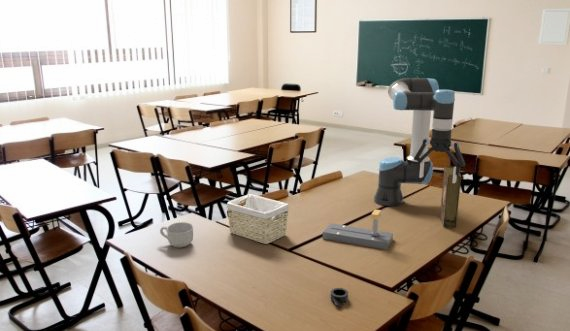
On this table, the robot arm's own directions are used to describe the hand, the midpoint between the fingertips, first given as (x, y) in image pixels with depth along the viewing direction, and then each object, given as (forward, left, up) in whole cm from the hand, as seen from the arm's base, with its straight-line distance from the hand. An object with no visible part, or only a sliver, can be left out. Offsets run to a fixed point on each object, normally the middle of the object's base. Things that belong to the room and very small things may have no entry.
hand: (437, 179), depth 196 cm
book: (-18, +20, -28) cm, 38 cm away
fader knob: (-6, -24, -24) cm, 34 cm away
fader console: (-10, -30, -27) cm, 42 cm away
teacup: (-25, -105, -28) cm, 111 cm away
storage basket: (-27, -70, -28) cm, 80 cm away
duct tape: (+33, -56, -28) cm, 71 cm away
